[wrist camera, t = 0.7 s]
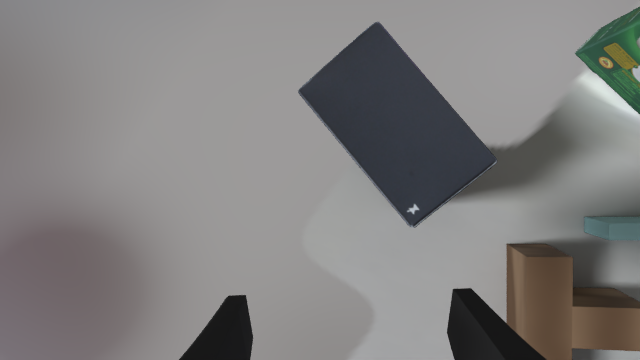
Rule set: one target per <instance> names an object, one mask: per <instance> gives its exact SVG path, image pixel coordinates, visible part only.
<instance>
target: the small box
mask: <svg viewBox="0 0 640 360" xmlns="http://www.w3.org/2000/svg"><path fill="white" fill-rule="evenodd" d="M298 93H299V94H300V96H301V97H302V98H303V99H304V100H305V102H306V103H307V104H308V105H309V106H310V108H311V109H312V110H313V111H314V113H315V114H316V115H317V116H318V117H319V118H320V120H321V121H322V122H323V123H324V125H325V126H326V127H327V128H328V130H329V131H330V132H331V133H332V134H333V136H334V137H335V138H336V139H337V140H338V142H339V143H340V144H341V145H342V146H343V148H344V149H345V150H346V151H347V153H348V154H349V155H350V156H351V157H352V158H353V160H354V161H355V162H356V163H357V165H358V166H359V167H360V168H361V169H362V170H363V172H364V173H365V174H366V175H367V176H368V178H369V179H370V180H371V181H372V183H373V184H374V185H375V186H376V187H377V188H378V190H379V191H380V192H381V193H382V195H383V196H384V197H385V198H386V199H387V200H388V202H389V203H390V204H391V205H392V207H393V208H394V209H395V210H396V211H397V212H398V214H399V215H400V216H401V217H402V218H403V220H404V221H405V222H406V223H407V225H409V226H410V227H414V228H415V227H417V226H418V225H419V224H420V223H421V222H422V221H424V220H425V219H426V218H427V217H429V216H430V215H431V214H432V213H434V212H435V211H436V210H437V209H439V208H440V207H441V206H443V205H444V204H445V203H447V202H448V201H449V200H450V199H451V198H453V197H454V196H455V195H456V194H458V193H459V192H461V191H462V190H463V189H464V188H466V187H467V186H468V185H470V184H471V183H472V182H473V181H474V180H476V179H477V178H478V177H480V176H481V175H482V174H483V173H485V172H486V171H487V170H489V169H490V168H491V167H492V166H494V165H495V164H496V163H497V159H496V157H495V156H494V155H493V154H492V153H491V152H490V151H489V149H488V148H487V147H486V146H485V145H484V143H483V142H482V141H481V140H480V139H479V138H478V137H477V136H476V135H475V133H474V132H473V131H472V130H471V129H470V127H469V126H468V125H467V124H466V123H465V122H464V121H463V119H462V118H461V117H460V116H459V115H458V114H457V112H456V111H455V110H454V109H453V108H452V107H451V105H450V104H449V103H448V102H447V101H446V100H445V99H444V97H443V96H442V95H441V94H440V93H439V92H438V91H437V89H436V88H435V87H434V86H433V85H432V83H431V82H430V81H429V80H428V79H427V78H426V77H425V75H424V74H423V73H422V72H421V71H420V69H419V68H418V67H417V66H416V65H415V64H414V62H413V61H412V60H411V59H410V58H409V57H408V55H407V54H406V53H405V52H404V51H403V50H402V48H401V47H400V46H399V45H398V44H397V42H396V41H395V40H394V39H393V38H392V36H391V35H390V34H389V33H388V32H387V31H386V29H384V27H383V26H382V25H381V24H380V23H379V22H375V23H374V24H372V25H371V26H370V27H369V28H368V29H366V30H365V31H364V32H363V33H362V34H360V35H359V36H358V37H357V38H356V39H355V40H354V41H353V42H352V43H350V44H349V45H348V46H347V47H346V48H344V49H343V50H342V51H341V52H340V53H339V54H338V55H337V56H336V57H335V58H333V59H332V60H331V61H330V62H329V63H328V64H327V65H325V66H324V67H323V68H322V69H321V70H320V71H319V72H318V73H317V74H316V75H314V76H313V77H312V78H311V79H310V80H309V81H308V82H306V84H304V85H303V86H302V87H301V88H300V89H299V91H298Z"/></svg>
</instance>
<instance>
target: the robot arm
mask: <svg viewBox="0 0 640 360" xmlns="http://www.w3.org/2000/svg"><path fill="white" fill-rule="evenodd" d="M447 334H448V338H449V341H450V345H451V349H452V352H453V356H454V359H455V360H547V359H545V358H544V357H543V356H542V355H541V354H540V353H538V352H537V351H536V350H535V349H534V348H533V347H531V346H530V345H529V344H528V343H527V342H526V341H525V340H524V339H523V338H521V337H520V336H519V335H518V334H517V333H516V332H515V331H514V330H513V329H512V328H511V327H510V326H509V325H508V324H507V323H505V322H504V321H503V320H502V319H501V318H500V317H499V316H498V315H497V314H496V313H495V312H494V311H493V310H492V309H491V308H490V307H489V306H488V305H487V304H486V303H485V302H484V301H483V300H482V299H481V298H480V297H479V296H478V295H477V294H476V293H475V292H474V291H473V290H472V289H471V288H467V289H453V293H452V300H451V307H450V314H449V322H448V329H447ZM252 341H253V334H252V328H251V322H250V317H249V312H248V305H247V299H246V295H236V296H228V297H227V298H226V299H225V300H224V302H223V303H222V305H221V306H220V308H219V309H218V311H217V312H216V313H215V315H214V316H213V318H212V319H211V320H210V321H209V323H208V324H207V326H206V327H205V328H204V330H203V331H202V332H201V333H200V335H199V336H198V337H197V338H196V340H195V341H194V342H193V344H192V345H191V346H190V347H189V349H188V350H187V351H186V352H185V353H184V354H183V356H182V357H181V358H180V359H179V360H250V357H251V350H252Z"/></svg>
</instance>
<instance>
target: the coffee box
mask: <svg viewBox="0 0 640 360" xmlns="http://www.w3.org/2000/svg"><path fill="white" fill-rule="evenodd" d="M575 54H576V55H577V56H578V57H579V58H580V59H581V60H582V61H583V62H584V63H585V64H586V65H587V66H588V67H589V68H590V69H591V70H592V71H593V72H594V73H596V74H597V75H598V76H599V77H601V78H602V79H603V80H604V81H605V82H606V83H607V84H608V85H609V86H610V87H611V88H612V89H613V90H614V91H615V92H617V93H618V94H619V95H620V96H621V97H622V98H623V99H624V100H625V101H626V102H627V103H628V104H629V105H630V106H631V107H632V108H633V109H634V110H636V111H637V112H638V113H639V114H640V7H638V8H636V9H634V10H633V11H631V12H629V13H628V14H626V15H624V16H621V17H620V18H618V19H616V20H614V21H612V22H611V23H609V24H607V25H605V26H604V27H602V28H601V29H599V30H598V31H597V32H595V33H594V34H593V35H592V36H591V37H590V38H589V39H588V40H587V41H586V42H585V43H584V44H583V45H582V46H581V47H580V48H579V49H578V50H577V51H576V53H575Z"/></svg>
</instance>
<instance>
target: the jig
mask: <svg viewBox="0 0 640 360" xmlns="http://www.w3.org/2000/svg"><path fill="white" fill-rule="evenodd" d="M584 232H586V233H589V234H592V235H595V236H598V237H601V238H604V239H607V240H640V217H585V222H584Z"/></svg>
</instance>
